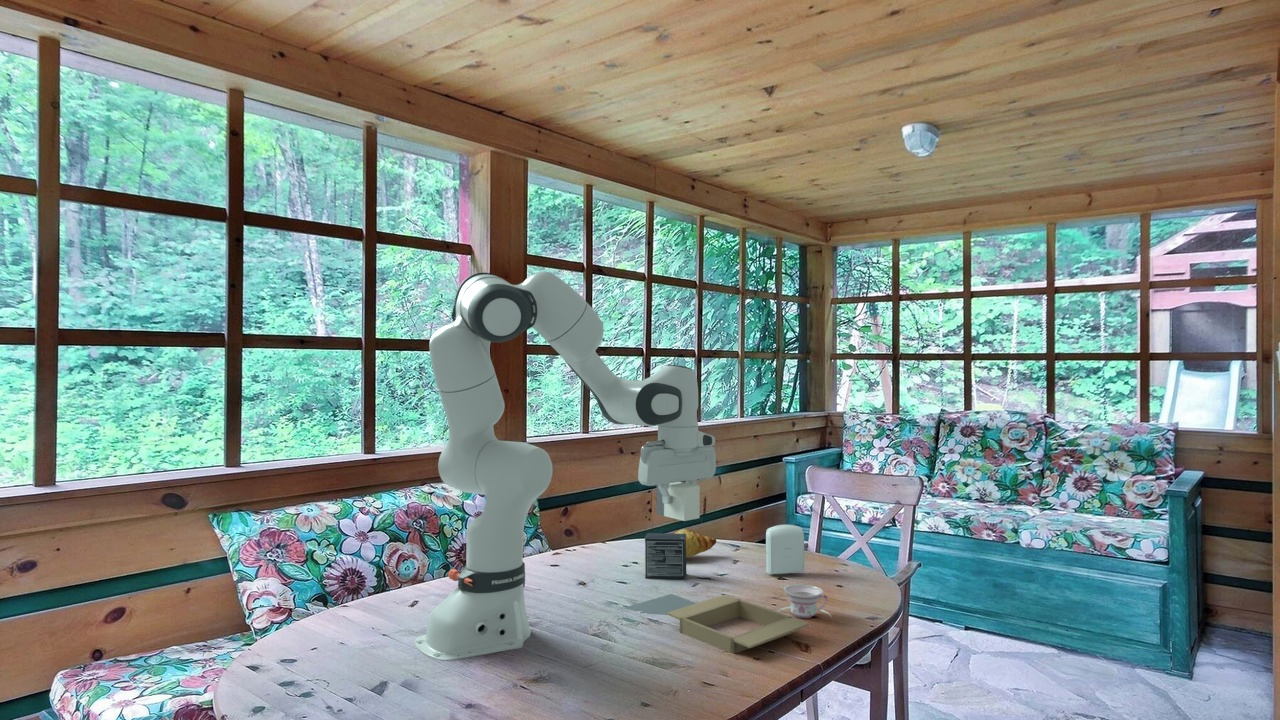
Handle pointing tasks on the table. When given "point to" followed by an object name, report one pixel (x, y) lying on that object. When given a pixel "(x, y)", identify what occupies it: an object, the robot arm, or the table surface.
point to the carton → (729, 608)
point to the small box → (665, 556)
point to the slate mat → (661, 605)
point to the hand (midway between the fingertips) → (677, 501)
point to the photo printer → (784, 549)
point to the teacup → (804, 600)
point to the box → (680, 502)
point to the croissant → (696, 542)
